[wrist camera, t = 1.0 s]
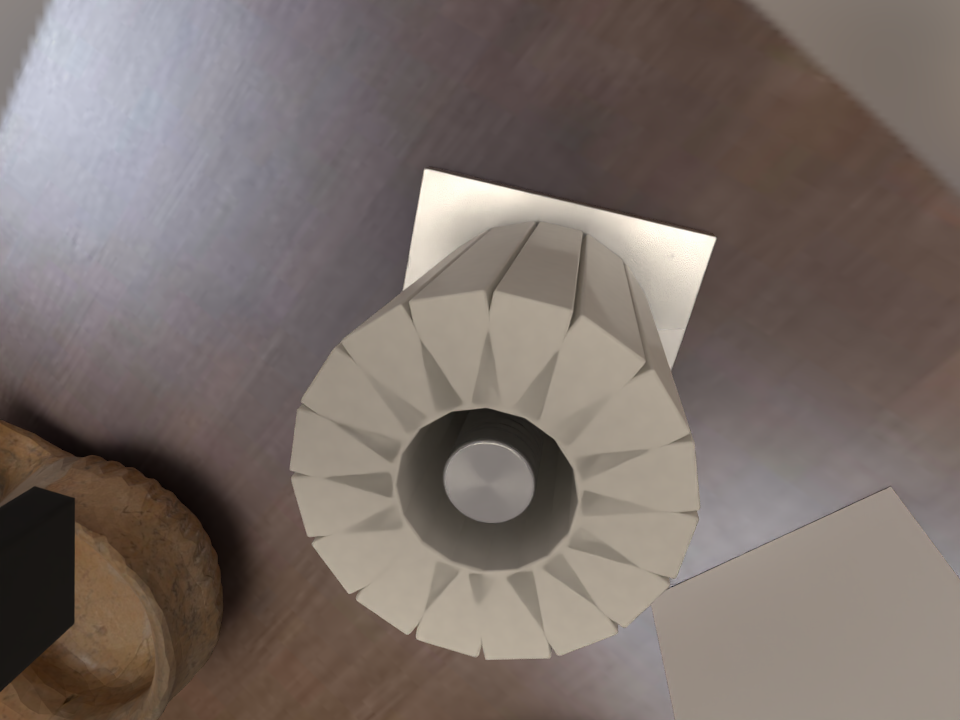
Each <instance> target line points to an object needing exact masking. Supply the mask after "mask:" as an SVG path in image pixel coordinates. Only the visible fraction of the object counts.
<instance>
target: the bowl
mask: <svg viewBox="0 0 960 720" xmlns="http://www.w3.org/2000/svg"><path fill="white" fill-rule="evenodd" d="M34 486H36V487H39V488H43V489H46V490H49V491H53V492H56V493H59V494H63V495H66V496H70V497H73V498H75V622H74V625H73V626H71V627H70V628H69V629H68V630H67V631H66V632H65V633H64V634H63V635H62V636H61V637H60V638H58V639H57V640H56V641H55V642H54V643H53V644H52V645H51V646H50V647H49V648H48V649H46V650H45V651H44V652H43V653H42V654H41V655H40V656H39V657H38V658H37V659H36V660H35V661H33V662H32V663H31V664H30V665H29V666H28V667H27V668H26V669H25V670H24V671H23V672H22V673H20V674H19V675H18V676H17V677H16V678H15V679H14V680H13V681H12V682H11V683H10V684H8V685H7V686H6V687H5V688H4V689H3V690H2V691H1V692H0V720H158V719H159V718H160V716H161V715H162V713H163V712H164V710H165V708H166V706H167V704H168V702H169V701H170V700H171V699H172V698H173V697H174V696H175V695H176V694H177V693H179V692H180V691H181V690H182V689H183V688H184V687H185V686H186V685H187V684H188V683H189V682H190V680H191V679H192V678H193V677H194V675H195V674H196V673H197V672H198V671H199V670H200V669H201V668H202V667H203V666H204V665H205V663H206V662H207V660H208V659H209V657H210V656H211V654H212V653H213V648H214V646H215V645H216V644H217V642H218V639H219V635H220V628H221V621H222V615H223V602H222V601H223V588H222V585H221V573H220V567H219V565H218V556H217V553H216V551H215V549H214V548H213V547H212V546H211V540H210V538H209V536H208V534H207V533H206V531H205V530H204V529H203V527H202V525H201V522H200V521H199V520H198V518H197V517H196V516H195V515H194V514H193V513H192V512H190V510H189V509H188V508H187V507H186V506H185V505H184V504H182V503H181V502H180V501H179V500H178V499H177V497H176V496H175V495H174V493H173V492H171V491H169V490H166V489H164V488H162V487H161V486H160V484H159V482H158V481H156V480H155V479H150V478H146V477H145V476H144V475H143V474H142V473H141V472H140V471H138V470H137V469H135V468H134V467H125V466H123V465H122V464H121V463H120V462H117V461H106V460H105V459H103V458H102V457H100V456H95V455H90V456H86V457H75V456H74V455H73V454H71V453H68V452H66V451H64V450H62V449H60V448H58V447H56V446H55V445H53V444H51V443H49V442H48V441H46V440H44V439H43V438H41V437H39V436H38V435H36V434H34V433H32V432H30V431H27V430H25V429H22V428H20V427H17V426H15V425H12V424H10V423H7V422H5V421H3V420H0V507H1V506H3V505H4V504H6V503H8V502H9V501H11V500H13V499H14V498H16V497H17V496H19V495H21V494H22V493H24V492H26V491H27V490H29V489H31V488H32V487H34Z"/></svg>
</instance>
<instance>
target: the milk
mask: <svg viewBox="0 0 960 720" xmlns="http://www.w3.org/2000/svg"><path fill="white" fill-rule="evenodd" d="M651 607H652V612H653V617H654V622H655V626H656V631H657V636H658V641H659V645H660V650H661V655H662V660H663V664H664V669H665V674H666V679H667V683H668V688H669V693H670V698H671V702H672V707H673V712H674V717H675V720H960V579H959V578H958V576H957V575H956V574H955V572H954V571H953V570H952V568H951V567H950V566H949V564H948V563H947V562H946V560H945V559H944V558H943V556H942V555H941V553H940V552H939V551H938V549H937V548H936V547H935V545H934V544H933V543H932V541H931V540H930V539H929V537H928V536H927V535H926V533H925V532H924V531H923V529H922V528H921V527H920V525H919V524H918V522H917V521H916V520H915V518H914V517H913V516H912V514H911V513H910V512H909V510H908V509H907V508H906V506H905V505H904V504H903V502H902V501H901V500H900V498H899V497H898V496H897V494H896V493H895V491H894V490H893V489H892V487H889V488H887V489H884V490H882V491H880V492H878V493H876V494H873V495H871V496H869V497H867V498H865V499H863V500H860V501H858V502H856V503H854V504H852V505H850V506H847V507H845V508H843V509H841V510H839V511H837V512H834V513H832V514H830V515H828V516H826V517H824V518H821V519H819V520H817V521H815V522H813V523H811V524H808V525H806V526H804V527H802V528H800V529H797V530H795V531H793V532H791V533H789V534H787V535H784V536H782V537H780V538H778V539H776V540H774V541H771V542H769V543H767V544H765V545H763V546H761V547H758V548H756V549H754V550H752V551H750V552H748V553H745V554H743V555H741V556H739V557H737V558H735V559H732V560H730V561H728V562H726V563H724V564H721V565H719V566H717V567H715V568H713V569H711V570H708V571H706V572H704V573H702V574H700V575H698V576H695V577H693V578H691V579H689V580H687V581H685V582H682V583H680V584H678V585H676V586H674V587H672V588H669V589H667V590H665V591H664V592H663V593H662V594H661V595H660V596H659V597H658V598H657V599H656V600H655V601H654V602H653V603H652V604H651Z"/></svg>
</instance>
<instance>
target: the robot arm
mask: <svg viewBox="0 0 960 720" xmlns="http://www.w3.org/2000/svg"><path fill="white" fill-rule="evenodd" d="M74 622H75V498H73V497H70V496H66V495H63V494H59V493H56V492H53V491H49V490H46V489H43V488H39V487H36V486H34V487H32V488H31V489H29V490H27V491H26V492H24V493H22V494H21V495H19V496H17V497H16V498H14V499H13V500H11V501H9V502H8V503H6V504H4V505H3V506H1V507H0V692H1V691H2V690H3V689H4V688H5V687H6V686H7V685H8V684H10V683H11V682H12V681H13V680H14V679H15V678H16V677H17V676H18V675H19V674H20V673H22V672H23V671H24V670H25V669H26V668H27V667H28V666H29V665H30V664H31V663H32V662H33V661H35V660H36V659H37V658H38V657H39V656H40V655H41V654H42V653H43V652H44V651H45V650H46V649H48V648H49V647H50V646H51V645H52V644H53V643H54V642H55V641H56V640H57V639H58V638H60V637H61V636H62V635H63V634H64V633H65V632H66V631H67V630H68V629H69V628H70V627H71V626H73V625H74Z"/></svg>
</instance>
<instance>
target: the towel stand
mask: <svg viewBox="0 0 960 720" xmlns="http://www.w3.org/2000/svg"><path fill="white" fill-rule="evenodd" d="M532 221H534V222H535V223H536V227H537V226H538V224H539V223H540V222H541V221H542V222H546V223H550V224H554V225H558V226H562V227H566V228H571V229H575V230H579V231H582V232H583V236H582V240H583V239H584V238H585V236H586V235H590V236H591V237H593V238H594V239H596V240H597V241H598V242H600V243H601V244H602V245H604V246H605V247H606V248H608V249H609V250H610V251H612V252H613V253H614V254H616V255H617V256H619V257H620V258H621V259H622V260H623V265H628V267H629V269H630V270H631V272H632V274H633V276H634V277H635V279H636V281H637V283H638V284H639V286H640V288H641V289H642V291H643V293H644V295H645V296H646V298H647V300H648V303H649V306H650V309H651V312H652V315H653V319H654V322H655V325H656V328H657V331H658V334H659V337H660V340H661V343H662V346H663V349H664V352H665V355H666V358H667V361H668V364H669V367H670V370H671V372H672V369H673V366H674V363H675V360H676V357H677V354H678V351H679V349H680V346H681V343H682V340H683V337H684V334H685V331H686V328H687V325H688V322H689V319H690V316H691V313H692V310H693V307H694V304H695V302H696V299H697V296H698V293H699V290H700V287H701V284H702V281H703V278H704V275H705V272H706V269H707V266H708V263H709V260H710V257H711V255H712V252H713V249H714V246H715V243H716V240H717V237H716V236H715V235H714V234H713V233H709V232H705V231H701V230H696V229H692V228H688V227H684V226H679V225H675V224H671V223H667V222H663V221H658V220H654V219H650V218H646V217H641V216H637V215H633V214H629V213H625V212H620V211H616V210H612V209H608V208H603V207H599V206H595V205H591V204H587V203H582V202H578V201H574V200H570V199H565V198H561V197H557V196H553V195H549V194H544V193H540V192H536V191H532V190H527V189H523V188H519V187H515V186H511V185H506V184H502V183H498V182H494V181H489V180H485V179H481V178H477V177H473V176H468V175H464V174H460V173H456V172H451V171H447V170H443V169H439V168H434V167H425V168H424V169H423V175H422V181H421V186H420V192H419V198H418V203H417V209H416V215H415V220H414V226H413V232H412V237H411V243H410V249H409V254H408V260H407V266H406V271H405V277H404V283H403V288H402V292H403V291H404V290H405V289H406V288H408V287H409V286H410V285H411V284H413V283H414V282H415V281H417V280H418V279H419V278H420V277H422V276H423V275H424V274H425V273H427V272H428V271H429V270H430V269H432V268H433V267H434V266H435V265H437V264H438V263H439V262H440V261H442V260H443V259H444V258H445V257H447V256H448V255H449V254H451V253H452V252H453V251H455V250H456V249H458V248H459V247H461V246H463V245H464V244H466V243H467V242H469V241H470V240H472V239H474V238H475V237H477V236H478V235H480V234H481V233H483V232H485V231H486V230H488V231H490V230H491V229H492V228H495V227H501V226H507V225H513V224H519V223H525V222H532ZM544 438H545V432H543V431H542V430H541V429H539V428H538V427H536V426H535V425H534V424H532V423H531V422H529V421H528V420H527V419H525V418H523V417H519V416H515V415H511V414H508V413H504V412H500V411H496V410H493V409H489V408H481V409H472V410H469V412H468V415H467V417H466V419H465V421H464V423H463V425H462V428H461V430H460V432H459V434H458V436H457V438H456V441H455V443H454V445H453V447H452V449H451V451H450V454H449V456H448V458H447V460H446V462H445V465H444V468H443V474H442V481H443V487H444V490H445V493H446V495H447V497H448V499H449V501H450V502H451V504H452V505H453V506H454V507H455V508H456V509H457V510H458V511H459V512H460V513H462V514H463V515H464V516H466V517H468V518H470V519H472V520H474V521H477V522H481V523H487V524H498V523H504V522H508V521H510V520H513V519H515V518H516V517H518V516H520V515H521V514H522V513H523V512H525V511H526V510H527V508H528V507H529V506H530V504H531V502H532V501H533V498H534V496H535V491H536V486H537V480H538V474H539V468H540V462H541V456H542V450H543V444H544Z"/></svg>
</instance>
